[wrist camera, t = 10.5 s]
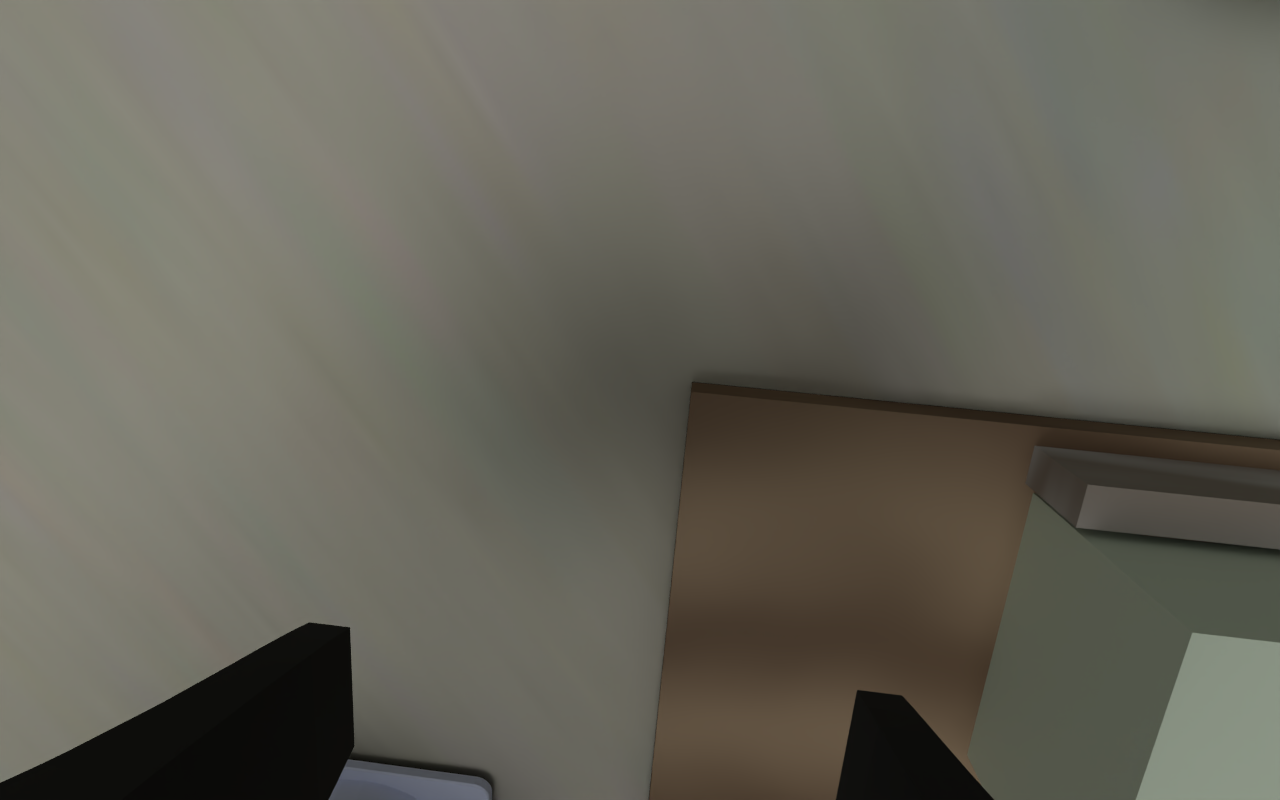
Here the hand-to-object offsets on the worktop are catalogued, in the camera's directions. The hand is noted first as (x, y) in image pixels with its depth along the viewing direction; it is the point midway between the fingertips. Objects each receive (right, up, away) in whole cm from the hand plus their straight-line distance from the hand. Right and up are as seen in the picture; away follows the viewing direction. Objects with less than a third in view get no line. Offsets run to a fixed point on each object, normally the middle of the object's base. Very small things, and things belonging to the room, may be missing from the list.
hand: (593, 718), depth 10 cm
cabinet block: (+13, -2, +9) cm, 16 cm away
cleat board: (+9, -3, +10) cm, 14 cm away
